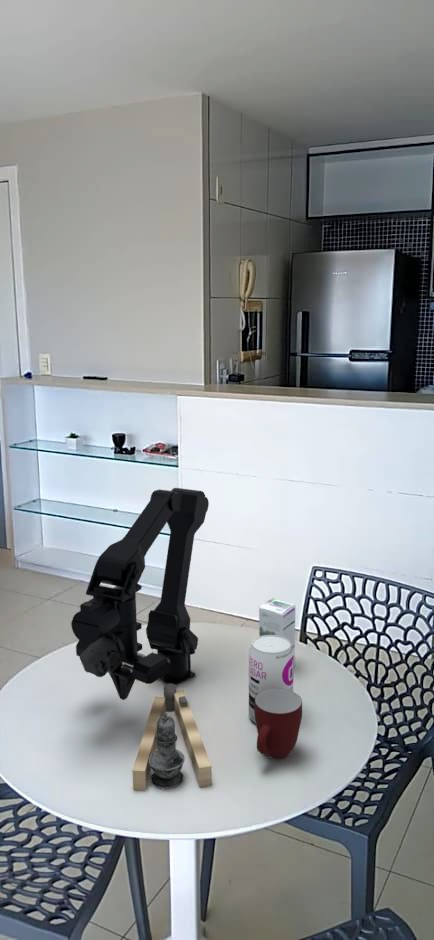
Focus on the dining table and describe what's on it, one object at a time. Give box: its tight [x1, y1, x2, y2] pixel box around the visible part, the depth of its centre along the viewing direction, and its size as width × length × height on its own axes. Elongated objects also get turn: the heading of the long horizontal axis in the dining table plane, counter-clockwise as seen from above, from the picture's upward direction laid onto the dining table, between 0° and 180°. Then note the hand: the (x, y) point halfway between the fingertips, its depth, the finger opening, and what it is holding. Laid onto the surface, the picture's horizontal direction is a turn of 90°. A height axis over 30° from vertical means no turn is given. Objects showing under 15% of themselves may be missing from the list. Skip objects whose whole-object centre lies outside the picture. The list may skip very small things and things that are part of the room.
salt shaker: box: [149, 711, 186, 790], centre depth 118 cm, size 6×6×12 cm
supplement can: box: [248, 635, 295, 724], centre depth 135 cm, size 8×8×15 cm
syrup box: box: [258, 598, 296, 668], centre depth 153 cm, size 6×6×14 cm
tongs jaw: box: [131, 696, 167, 791], centre depth 127 cm, size 22×2×4 cm, turn 175°
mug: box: [254, 688, 303, 760], centre depth 124 cm, size 10×8×10 cm
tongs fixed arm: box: [163, 683, 213, 788], centre depth 129 cm, size 25×4×4 cm, turn 13°
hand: (123, 698), depth 135 cm, fingers closed
